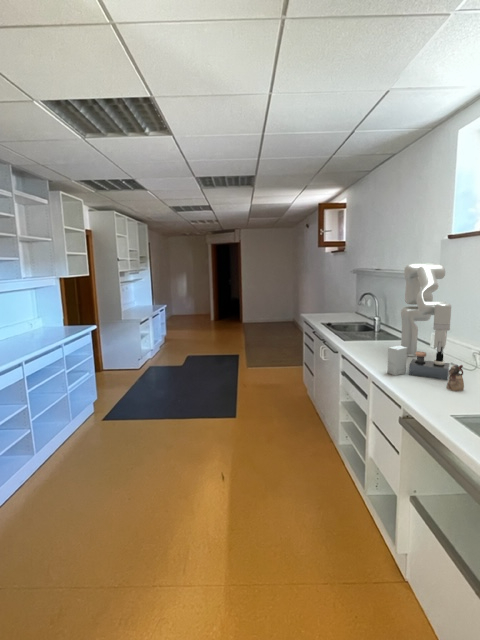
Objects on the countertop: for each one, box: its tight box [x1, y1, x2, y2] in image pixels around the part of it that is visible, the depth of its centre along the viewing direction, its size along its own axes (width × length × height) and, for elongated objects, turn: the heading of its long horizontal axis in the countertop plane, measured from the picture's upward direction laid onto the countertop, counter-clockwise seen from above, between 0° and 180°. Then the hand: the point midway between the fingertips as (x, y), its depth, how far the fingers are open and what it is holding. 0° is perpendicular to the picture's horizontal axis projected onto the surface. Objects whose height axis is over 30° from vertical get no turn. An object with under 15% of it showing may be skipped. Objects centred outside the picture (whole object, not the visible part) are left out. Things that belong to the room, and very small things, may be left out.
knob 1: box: [415, 350, 427, 364], centre depth 196 cm, size 5×5×8 cm
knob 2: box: [433, 359, 446, 367], centre depth 192 cm, size 5×5×8 cm
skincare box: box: [387, 345, 408, 377], centre depth 197 cm, size 8×6×15 cm
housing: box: [408, 358, 450, 381], centre depth 194 cm, size 12×18×6 cm, turn 57°
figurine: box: [446, 363, 465, 392], centre depth 172 cm, size 7×7×12 cm
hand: (439, 360), depth 191 cm, fingers closed
